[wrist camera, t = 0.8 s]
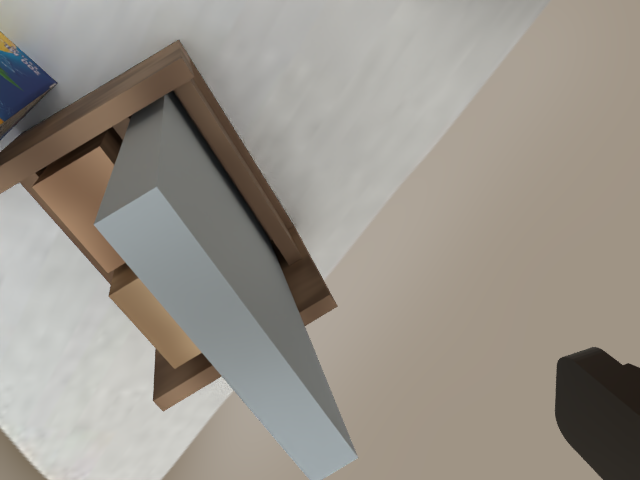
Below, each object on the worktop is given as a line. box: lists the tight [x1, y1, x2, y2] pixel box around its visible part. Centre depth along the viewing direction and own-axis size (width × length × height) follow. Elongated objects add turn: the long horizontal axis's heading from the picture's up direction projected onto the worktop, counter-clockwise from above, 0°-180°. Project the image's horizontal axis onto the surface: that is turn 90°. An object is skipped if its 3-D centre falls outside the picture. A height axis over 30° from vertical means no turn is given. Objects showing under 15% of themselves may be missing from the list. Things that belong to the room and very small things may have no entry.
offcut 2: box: [109, 263, 202, 369], centre depth 34 cm, size 4×6×10 cm, turn 28°
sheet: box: [94, 90, 358, 480], centre depth 27 cm, size 2×13×22 cm, turn 28°
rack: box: [0, 40, 337, 411], centre depth 33 cm, size 12×16×12 cm
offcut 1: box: [32, 126, 126, 273], centre depth 32 cm, size 4×6×8 cm, turn 28°
